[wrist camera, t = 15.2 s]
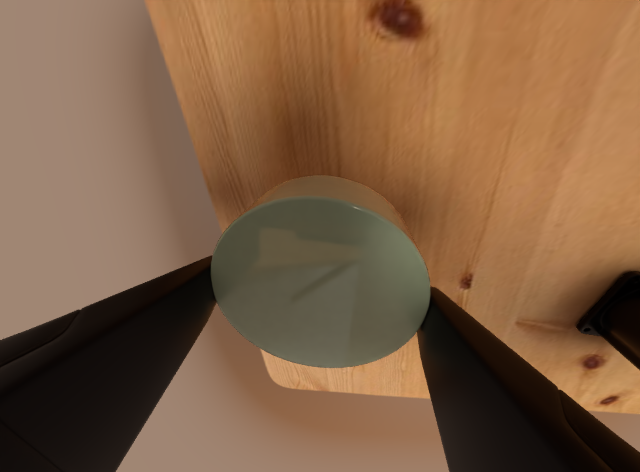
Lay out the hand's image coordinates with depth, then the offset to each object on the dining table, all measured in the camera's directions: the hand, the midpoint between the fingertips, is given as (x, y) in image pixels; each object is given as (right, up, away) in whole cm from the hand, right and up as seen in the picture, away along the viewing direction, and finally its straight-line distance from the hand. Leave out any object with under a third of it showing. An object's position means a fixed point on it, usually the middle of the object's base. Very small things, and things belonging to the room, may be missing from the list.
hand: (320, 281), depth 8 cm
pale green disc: (0, +1, +1) cm, 1 cm away
